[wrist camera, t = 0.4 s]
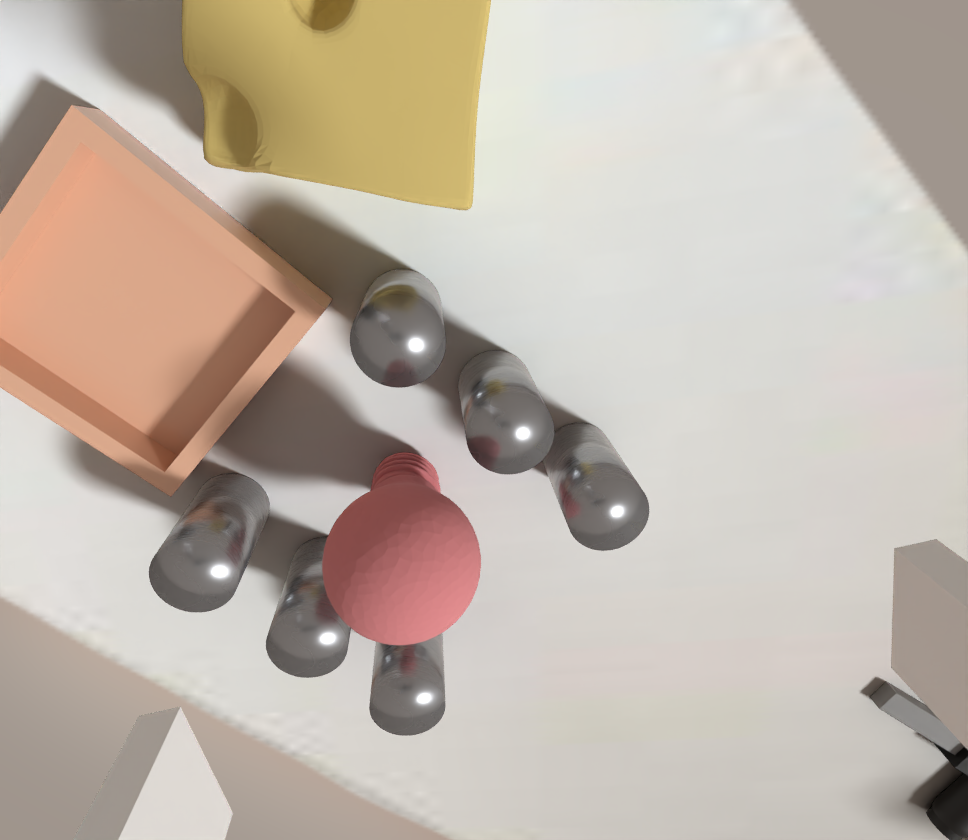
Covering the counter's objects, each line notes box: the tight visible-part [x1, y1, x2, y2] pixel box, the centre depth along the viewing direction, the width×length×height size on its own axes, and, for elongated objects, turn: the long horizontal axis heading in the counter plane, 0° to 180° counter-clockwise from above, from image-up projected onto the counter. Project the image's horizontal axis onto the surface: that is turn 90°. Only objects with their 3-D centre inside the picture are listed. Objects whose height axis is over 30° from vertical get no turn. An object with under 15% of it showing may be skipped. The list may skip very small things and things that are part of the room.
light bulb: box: [322, 452, 481, 645], centre depth 32 cm, size 7×7×12 cm
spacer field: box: [149, 269, 649, 735], centre depth 34 cm, size 17×19×7 cm
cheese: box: [182, 0, 491, 210], centre depth 25 cm, size 10×11×10 cm
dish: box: [0, 105, 332, 497], centre depth 32 cm, size 13×13×3 cm
